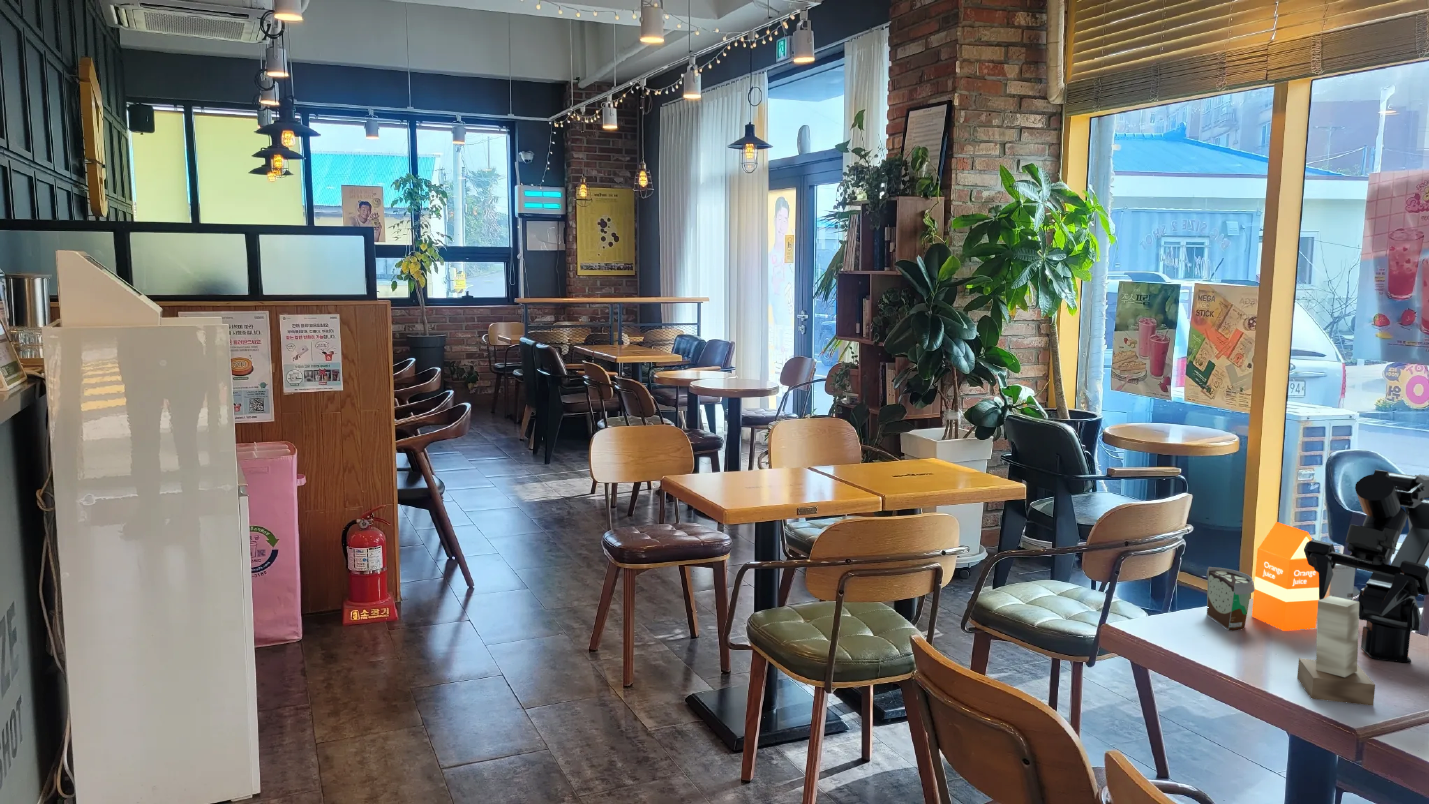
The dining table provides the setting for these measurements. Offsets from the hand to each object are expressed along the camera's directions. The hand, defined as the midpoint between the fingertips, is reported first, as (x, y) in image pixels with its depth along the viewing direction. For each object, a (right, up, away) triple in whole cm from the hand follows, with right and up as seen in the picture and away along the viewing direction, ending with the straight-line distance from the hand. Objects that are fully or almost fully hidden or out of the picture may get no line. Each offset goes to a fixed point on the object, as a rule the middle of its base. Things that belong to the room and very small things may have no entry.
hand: (1349, 606), depth 173 cm
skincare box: (+18, -10, +34) cm, 40 cm away
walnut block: (-4, -14, -2) cm, 15 cm away
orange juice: (+6, -10, +32) cm, 34 cm away
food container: (-4, -10, +31) cm, 33 cm away
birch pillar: (-4, -10, -3) cm, 11 cm away
